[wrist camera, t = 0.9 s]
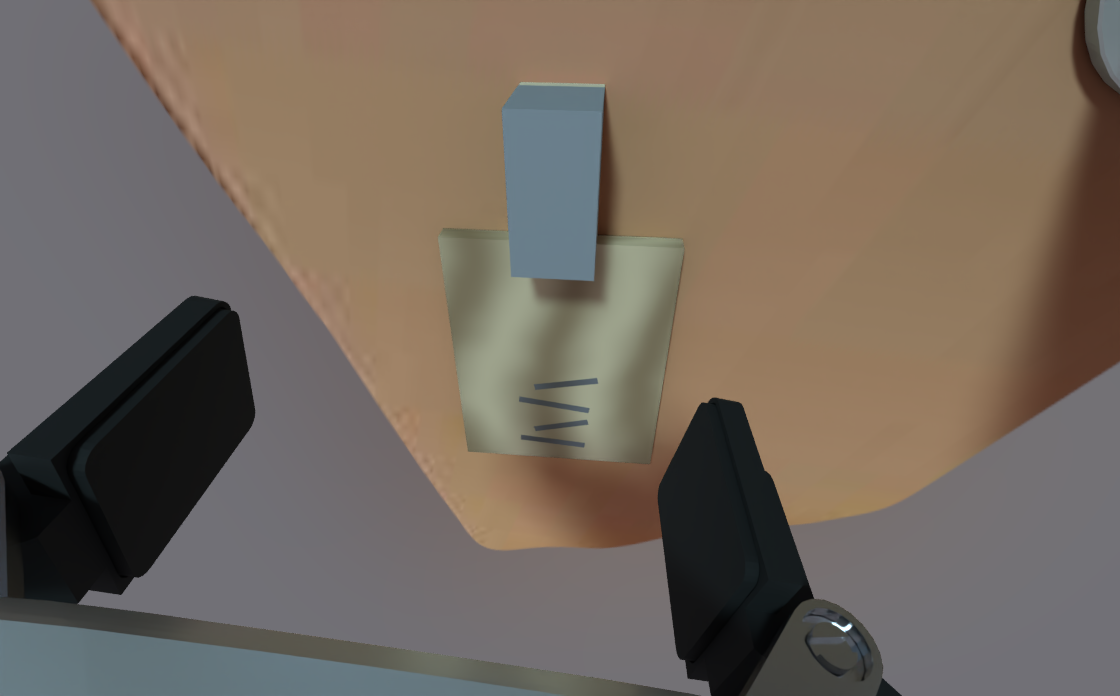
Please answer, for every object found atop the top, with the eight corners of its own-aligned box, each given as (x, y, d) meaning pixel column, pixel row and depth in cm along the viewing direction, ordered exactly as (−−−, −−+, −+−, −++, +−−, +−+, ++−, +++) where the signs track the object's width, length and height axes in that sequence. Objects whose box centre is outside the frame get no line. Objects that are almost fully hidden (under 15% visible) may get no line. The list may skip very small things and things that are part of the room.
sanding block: (604, 83, 27) (602, 111, 22) (597, 233, 31) (593, 281, 27) (520, 81, 27) (501, 108, 22) (525, 230, 32) (511, 276, 27)
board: (682, 238, 31) (684, 248, 30) (649, 452, 42) (649, 464, 41) (443, 228, 32) (437, 237, 31) (471, 439, 43) (468, 451, 42)
